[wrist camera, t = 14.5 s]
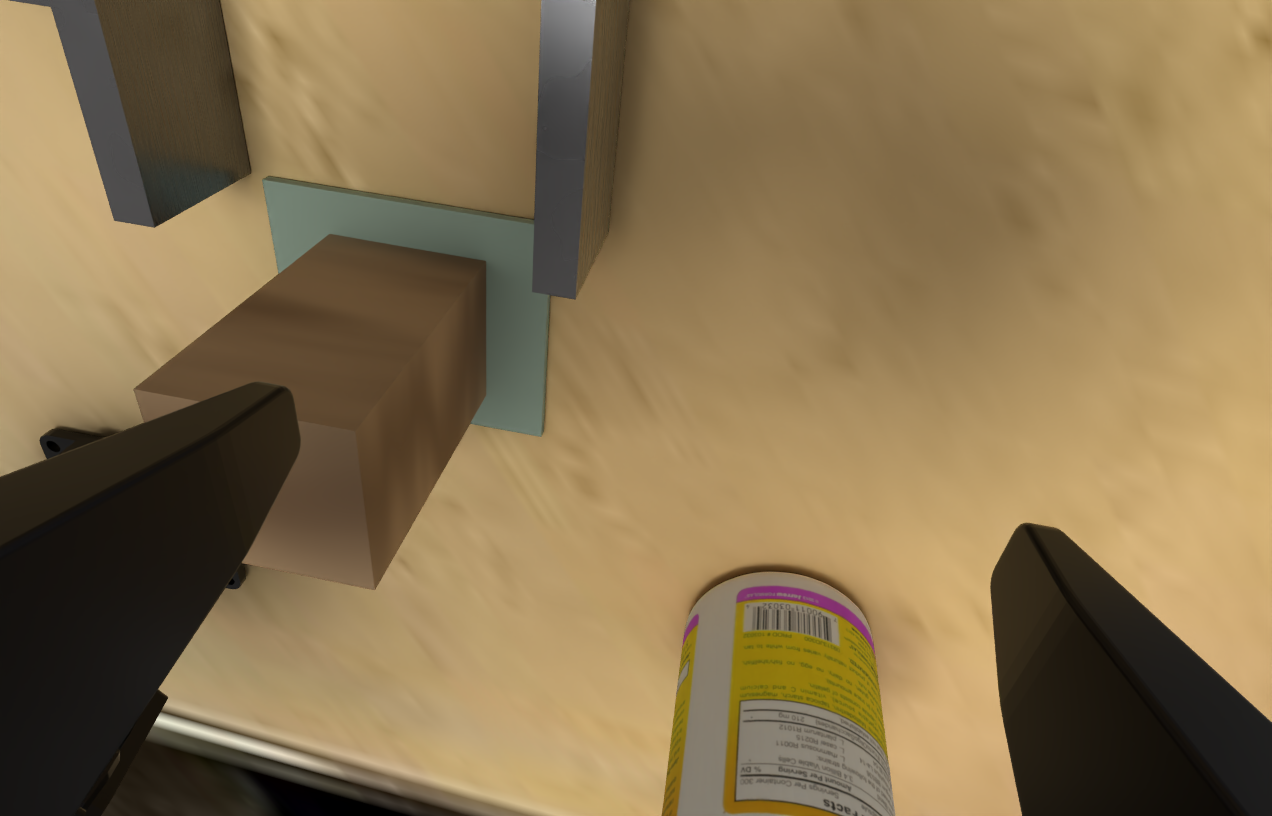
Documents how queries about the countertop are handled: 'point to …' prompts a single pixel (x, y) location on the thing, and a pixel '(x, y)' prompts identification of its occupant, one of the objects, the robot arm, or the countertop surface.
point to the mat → (494, 238)
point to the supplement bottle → (777, 705)
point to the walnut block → (349, 393)
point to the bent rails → (213, 134)
